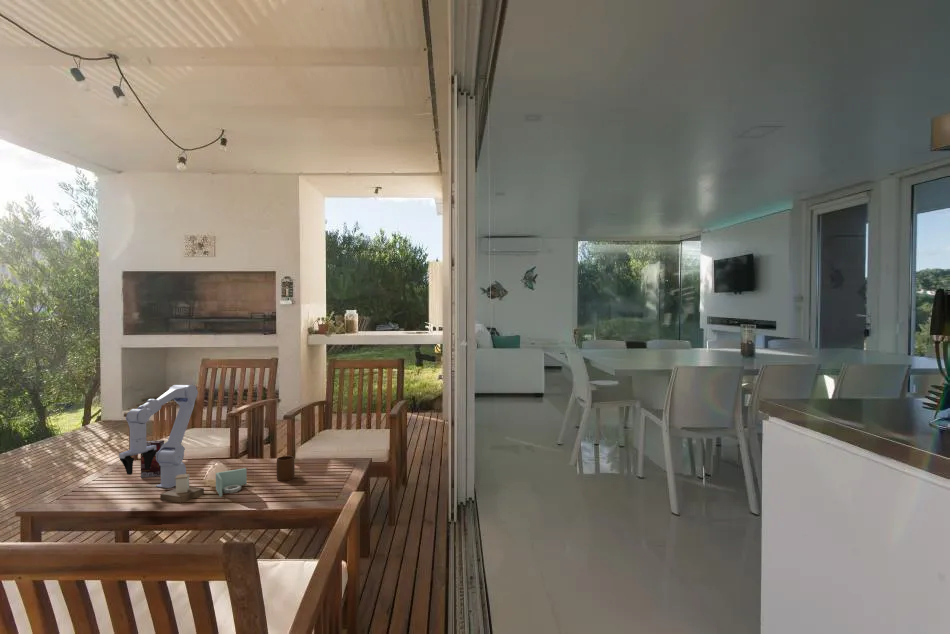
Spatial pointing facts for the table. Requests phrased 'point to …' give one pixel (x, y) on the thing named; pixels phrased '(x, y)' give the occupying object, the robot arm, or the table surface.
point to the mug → (285, 468)
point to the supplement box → (155, 467)
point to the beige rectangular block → (182, 483)
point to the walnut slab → (181, 495)
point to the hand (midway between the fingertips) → (138, 471)
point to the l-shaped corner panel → (230, 481)
